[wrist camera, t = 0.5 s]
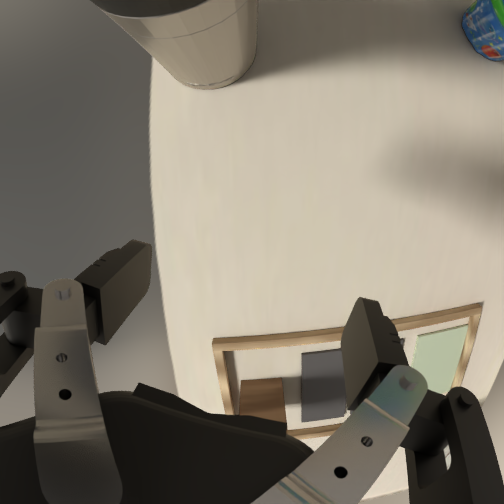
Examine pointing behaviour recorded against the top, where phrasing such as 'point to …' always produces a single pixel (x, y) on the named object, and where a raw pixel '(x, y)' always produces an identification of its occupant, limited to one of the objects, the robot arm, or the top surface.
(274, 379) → the walnut block
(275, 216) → the top surface
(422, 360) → the pad
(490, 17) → the snack cup
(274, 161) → the top surface
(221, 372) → the tray
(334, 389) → the trap squares
